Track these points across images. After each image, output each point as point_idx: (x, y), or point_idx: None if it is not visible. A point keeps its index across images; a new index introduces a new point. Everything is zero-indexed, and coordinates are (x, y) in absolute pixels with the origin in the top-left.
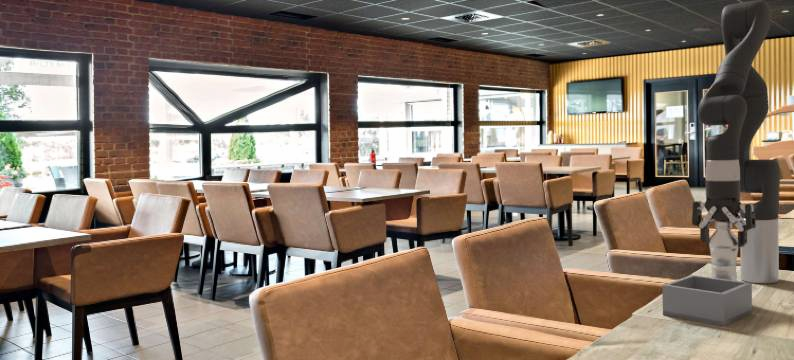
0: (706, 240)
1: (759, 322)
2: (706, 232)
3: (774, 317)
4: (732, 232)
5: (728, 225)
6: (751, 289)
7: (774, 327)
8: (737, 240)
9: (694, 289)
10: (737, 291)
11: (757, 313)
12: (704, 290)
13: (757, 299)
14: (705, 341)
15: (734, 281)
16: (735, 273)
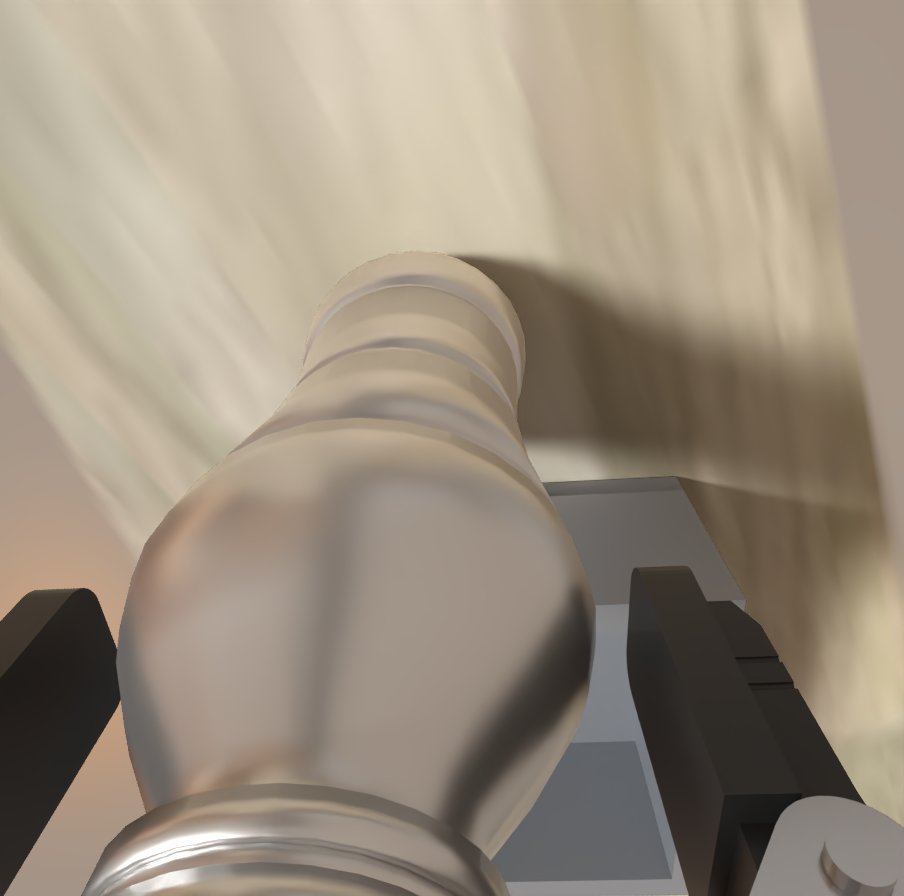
0: (91, 690)
1: (764, 602)
2: (4, 819)
3: (808, 475)
4: (501, 779)
5: None
6: (727, 572)
7: (848, 631)
8: (591, 654)
9: (518, 890)
10: None
11: (702, 458)
12: (573, 882)
13: (568, 82)
14: None
15: (618, 626)
16: (516, 416)
